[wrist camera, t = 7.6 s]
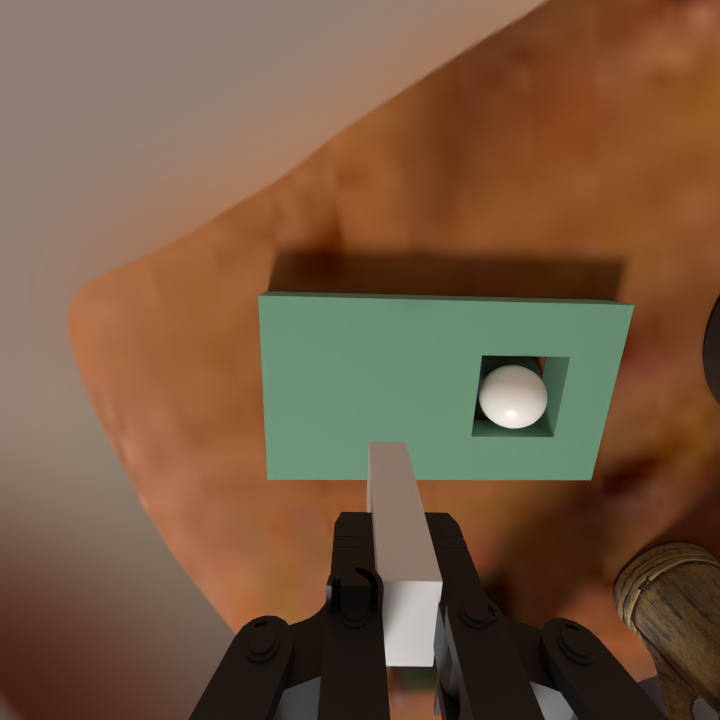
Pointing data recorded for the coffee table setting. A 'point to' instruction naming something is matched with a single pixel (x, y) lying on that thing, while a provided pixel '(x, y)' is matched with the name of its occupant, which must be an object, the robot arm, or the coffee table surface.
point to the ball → (513, 396)
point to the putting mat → (433, 382)
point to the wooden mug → (676, 621)
